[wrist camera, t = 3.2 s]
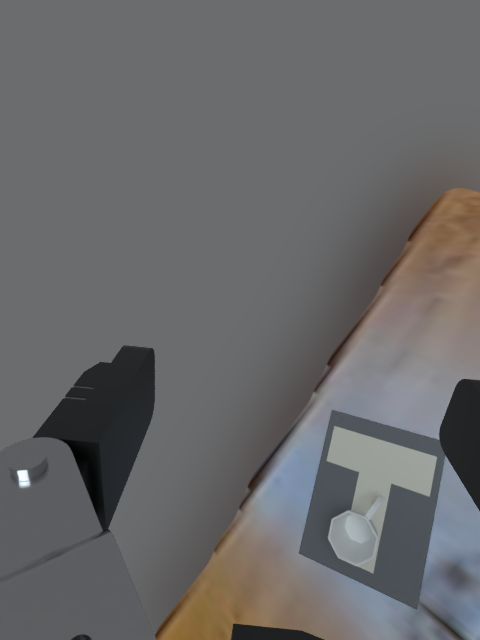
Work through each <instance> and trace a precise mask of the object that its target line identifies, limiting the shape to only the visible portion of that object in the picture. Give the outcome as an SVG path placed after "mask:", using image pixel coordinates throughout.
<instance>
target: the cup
mask: <svg viewBox="0 0 480 640" xmlns="http://www.w3.org/2000/svg"><path fill="white" fill-rule="evenodd" d="M383 500H384V497H383V496H381V495H379V497H378V498H377V499H376V501H375V502H374V503H373V505H372V506H371V507H370V509H369V510H368V511H367V513H363V512H361V511H358V510H357V511H356V510H348V511H346V512H344V513H342V514H340V515H338V516H336V517H334V518H332V520H331V525H330V530H329V534H328V540H329V542H330V544H331V546H332V548H333V550H334V551H335V553H336V555H337V557H338V558H339V559H341V560H343V561H346V562H348V563H350V564H352V565H354V566H357V567H358V566H360V565H362V564H364V563H366V562H368V561H370V560H372V559H374V558H375V553H376V548H377V543H378V534H377V530H376V528H375V525H374V523H373V521H372V520H371V517H372V516H373V514H374V513H375V512H376V510H377V509H378V507H379V506H380V505H381V503H382V502H383Z"/></svg>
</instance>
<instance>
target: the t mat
mask: <svg viewBox="0 0 480 640" xmlns="http://www.w3.org/2000/svg"><path fill="white" fill-rule="evenodd" d="M444 459H445V453H444V452H443V450H442V447H441V444H440V440H437V439H433V438H429V437H426V436H422V435H419V434H415V433H412V432H408V431H405V430H401V429H398V428H394V427H391V426H387V425H383V424H380V423H376V422H373V421H369V420H366V419H362V418H359V417H355V416H352V415H348V414H345V413H341V412H337V411H334V410H332V413H331V417H330V421H329V426H328V430H327V434H326V438H325V443H324V447H323V451H322V456H321V460H320V464H319V469H318V473H317V477H316V482H315V486H314V490H313V495H312V499H311V503H310V508H309V512H308V516H307V521H306V525H305V529H304V534H303V538H302V542H301V547H300V551H299V554H302V555H304V556H306V557H308V558H310V559H312V560H314V561H316V562H318V563H320V564H322V565H325V566H327V567H329V568H331V569H333V570H335V571H337V572H339V573H341V574H343V575H345V576H348V577H350V578H352V579H354V580H356V581H358V582H360V583H362V584H364V585H366V586H369V587H371V588H373V589H375V590H377V591H379V592H381V593H383V594H385V595H387V596H389V597H392V598H394V599H396V600H398V601H400V602H402V603H404V604H406V605H408V606H410V607H412V608H415V609H417V606H418V601H419V595H420V590H421V584H422V579H423V573H424V568H425V563H426V557H427V552H428V546H429V541H430V535H431V530H432V524H433V519H434V513H435V508H436V503H437V497H438V492H439V486H440V481H441V475H442V470H443V464H444ZM379 495H381V496H383V497H384V500H383V502H382V503H381V505H380V506H379V507H378V509H377V510H376V512H375V513H374V514H373V516H372V517H371V520H372V521H373V523H374V525H375V528H376V530H377V534H378V543H377V548H376V553H375V558H374V559H372V560H370V561H368V562H366V563H364V564H362V565H360V566H358V567H357V566H354V565H352V564H350V563H348V562H346V561H343V560H341V559H339V558H338V557H337V555H336V553H335V551H334V550H333V548H332V546H331V544H330V542H329V540H328V534H329V530H330V525H331V520H332V518H334V517H336V516H338V515H340V514H342V513H344V512H346V511H348V510H356V511H357V510H358V511H361V512H363V513H367V511H368V510H369V509H370V507H371V506H372V505H373V503H374V502H375V501H376V499H377V498H378V497H379Z"/></svg>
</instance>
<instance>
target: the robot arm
mask: <svg viewBox="0 0 480 640" xmlns="http://www.w3.org/2000/svg"><path fill="white" fill-rule="evenodd" d="M154 402H155V356H154V350H153V348H145V347H136V346H123V347H122V348H121V350H120V351H119V352H118V354H117V355H116V357H115V358H114V360H113V361H112V363H104V362H100V363H98V364H97V365H95V366H93V367H92V368H90V369H88V370H87V371H85V372H84V373H83V374H82V375H81V377H80V378H79V379H78V380H77V382H76V383H75V384H74V387H73V388H71V389H70V391H69V392H68V393H67V394H66V396H65V399H63V400H62V401H61V402H60V403H59V405H58V406H57V407H56V408H55V410H54V411H53V412H52V414H51V415H50V416H49V417H48V419H47V420H46V421H45V423H44V424H43V425H42V426H41V427H40V429H39V430H38V431H37V433H36V434H35V435H34V436H33V438H31V439H27V440H23V441H20V442H17V443H15V444H12V445H10V446H8V447H6V448H5V449H3V450H1V451H0V640H156V638H155V635H154V633H153V630H152V628H151V626H150V623H149V621H148V618H147V616H146V613H145V611H144V608H143V606H142V604H141V601H140V599H139V596H138V594H137V591H136V589H135V586H134V584H133V581H132V579H131V577H130V574H129V572H128V569H127V567H126V564H125V562H124V560H123V557H122V555H121V552H120V550H119V547H118V545H117V543H116V540H115V538H114V536H113V534H112V533H111V532H110V530H108V527H109V525H110V522H111V520H112V517H113V515H114V512H115V510H116V507H117V505H118V502H119V500H120V497H121V495H122V492H123V490H124V487H125V485H126V482H127V480H128V477H129V475H130V472H131V470H132V467H133V465H134V462H135V460H136V457H137V454H138V452H139V450H140V447H141V445H142V442H143V439H144V437H145V435H146V432H147V429H148V427H149V424H150V422H151V418H152V415H153V410H154ZM439 437H440V444H441V447H442V450H443V452H444V453H445V455H446V457H447V458H448V460H449V462H450V463H451V465H452V466H453V468H454V470H455V471H456V473H457V475H458V476H459V478H460V480H461V481H462V483H463V484H464V486H465V488H466V489H467V491H468V493H469V494H470V496H471V498H472V499H473V501H474V503H475V504H476V506H477V507H478V509H479V511H480V380H470V379H462V380H461V381H459V382H458V384H457V385H456V387H455V390H454V392H453V395H452V398H451V400H450V403H449V406H448V408H447V411H446V413H445V416H444V419H443V421H442V424H441V427H440V433H439ZM231 640H324V639H321V638H319V637H316V636H314V635H311V634H309V633H306V632H304V631H299V630H289V629H280V628H270V627H260V626H251V625H241V624H233V629H232V637H231Z"/></svg>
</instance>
